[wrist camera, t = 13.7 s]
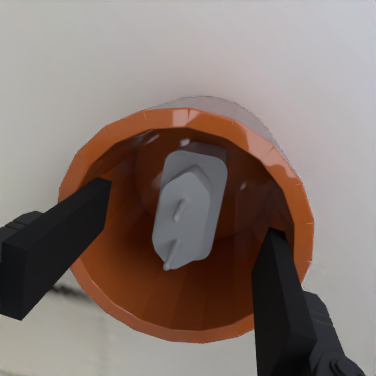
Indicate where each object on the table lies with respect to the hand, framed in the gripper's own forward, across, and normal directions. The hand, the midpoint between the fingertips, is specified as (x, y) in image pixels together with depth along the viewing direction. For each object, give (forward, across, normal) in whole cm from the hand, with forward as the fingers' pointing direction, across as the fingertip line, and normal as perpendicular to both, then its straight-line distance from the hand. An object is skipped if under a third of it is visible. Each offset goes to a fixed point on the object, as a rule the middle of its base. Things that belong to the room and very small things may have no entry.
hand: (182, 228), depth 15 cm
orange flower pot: (+9, 0, 0) cm, 9 cm away
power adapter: (+8, 0, 0) cm, 8 cm away
